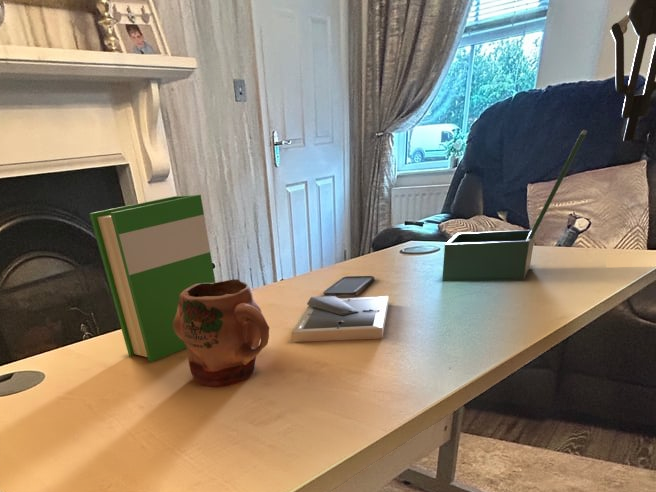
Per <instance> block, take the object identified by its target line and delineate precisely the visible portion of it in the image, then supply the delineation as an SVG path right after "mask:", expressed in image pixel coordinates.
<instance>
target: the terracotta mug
mask: <svg viewBox="0 0 656 492" xmlns="http://www.w3.org/2000/svg"><path fill="white" fill-rule="evenodd" d="M173 327H174V330H175V332H176V334H177V335H178V337H179V338H181V339H182V340H183V341H184V343H185V344H186V347H187V348H186V350H187V357H188V366H189V371H190V373H191V375H192V379H194V381H195V382H196V383H197V384H199V385H201V386H205V387H208V388H226V387H229V386H232V385H235V384H239V383H241V382H244V381H245V380H248V379H249V378H250V377H251V376H253V374H254V372H255V369H256V360H257V356H258V355H259V354H260V353H261V351H262V350H263V349H264V348H265V347H267V345H268V343H269V340H270V339H269V338H270V326H269V324H268V322H267V320H266V318H265V316H264V314H263V311H262V309H261V307H260V306H259V304H258V303H257V301H255V299H254V295H253V293H252V290H251V287H250V286H249V285H248V284H247V283H246V282H245V281H241V280H240V279H238V278H237V279H228V280H220V281H215V283H202V284H195V285H192V286H191V287H189V288H187V289H185V290H184V291H182V293H181V294H180V296H179V303H178V309H177V313H176V316H175V318H174V322H173Z"/></svg>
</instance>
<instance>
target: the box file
mask: <svg viewBox="0 0 656 492" xmlns="http://www.w3.org/2000/svg"><path fill="white" fill-rule="evenodd" d="M531 231H532V229H521V230H518V229H517V230H501V231H499V230H498V231H477V232H456V233H455V234H454V235H453V236H452V237H451V238H450V239H449V240H448V241H447V242H446V243H444V249H443V264H442V280H441V281H442V282H508V281H510V282H511V281H512V282H513V281H514V282H517V281H524V280H525V278H526V276H527V274H528V272H529V270H530V269H531V264H532V263H531V261H532V255H533V249H534V243H535V237H536V233H535V234H534V236H533V238H532V239H529V238H528V237H529V235H530V233H531Z"/></svg>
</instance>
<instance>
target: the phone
mask: <svg viewBox="0 0 656 492" xmlns="http://www.w3.org/2000/svg"><path fill="white" fill-rule="evenodd" d="M374 282H375V276H374V275H349V276H347V275H346V276H343V277H341V278H340V279H339V280H338V281H336V282H335V283H334V284H332V285H331V286H329V287H328V288H326V289H325V290H323V297H326V296H335V297H337V298H356V297H358V296H359V295H360V294H361V293H362V292H363V291H364V290H366V289H367V288H368V287H369V286H371V284H373V283H374Z"/></svg>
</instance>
